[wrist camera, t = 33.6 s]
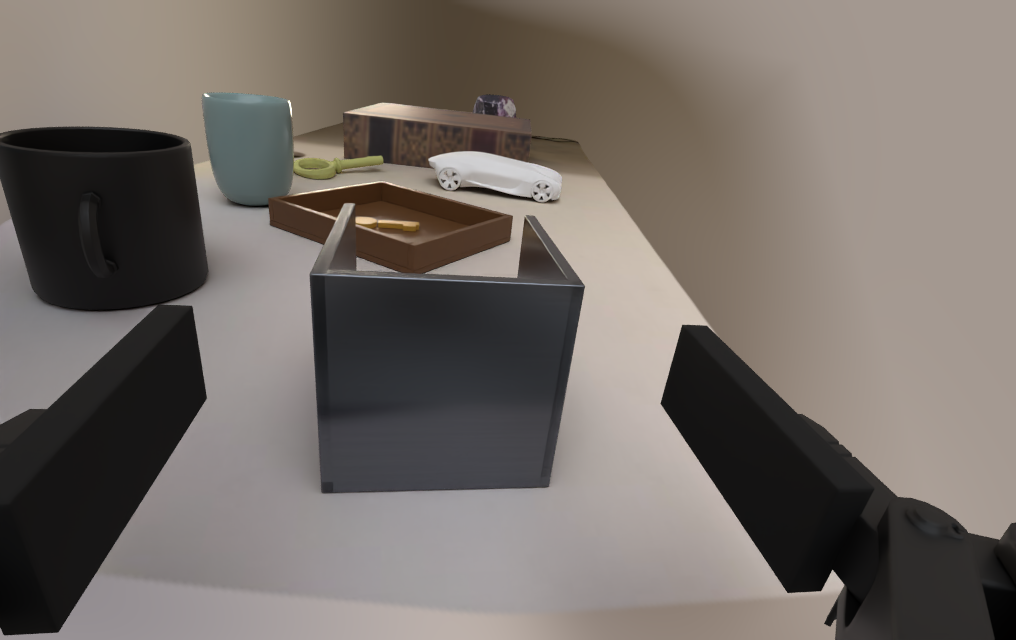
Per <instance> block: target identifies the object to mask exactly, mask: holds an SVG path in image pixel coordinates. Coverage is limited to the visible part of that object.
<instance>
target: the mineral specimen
mask: <svg viewBox="0 0 1016 640" xmlns="http://www.w3.org/2000/svg"><path fill="white" fill-rule="evenodd" d="M515 112H516V109H515V106H514V101H513V100H512V99H511V98H509V97H505V96H499V95H482V96H479V97H478V98H477V101H476V104H475V107H474V110H473V113H478V114H486V115H495V116H504V117H512V118H516V113H515Z"/></svg>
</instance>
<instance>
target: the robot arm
mask: <svg viewBox="0 0 1016 640" xmlns="http://www.w3.org/2000/svg"><path fill="white" fill-rule="evenodd" d="M206 399H207V396H206V389H205V383H204V377H203V371H202V364H201V358H200V352H199V345H198V339H197V333H196V326H195V320H194V314H193V307H192V306H181V305H158V306H157V307H156V308H154V309H153V310H152V311H151V312H150V313H149V314H148V315H147V316H146V317H145V318H144V319H143V320H142V321H141V322H140V323H139V324H137V325H136V326H135V327H134V328H133V329H132V330H131V331H130V332H129V333H128V334H127V335H126V336H125V337H124V338H123V339H121V340H120V341H119V342H118V343H117V344H116V345H115V346H114V347H113V348H112V349H111V350H110V351H109V352H108V353H107V354H105V355H104V356H103V357H102V358H101V359H100V360H99V361H98V362H97V363H96V364H95V365H94V366H93V367H92V368H91V369H90V370H88V371H87V372H86V373H85V374H84V375H83V376H82V377H81V378H80V379H79V380H78V381H77V382H76V383H75V384H74V385H72V386H71V387H70V388H69V389H68V390H67V391H66V392H65V393H64V394H63V395H62V396H61V397H60V398H59V399H58V400H57V401H55V402H54V403H53V404H52V405H51V406H50V407H49V408H48V409H29V410H27V411H25V412H24V413H22V414H20V415H18V416H16V417H14V418H12V419H10V420H8V421H6V422H5V423H3V424H1V425H0V628H1V629H2V632H3V634H4V635H19V634H38V633H57V632H59V630H60V629H61V627H62V625H63V624H64V622H65V621H66V619H67V618H68V616H69V615H70V613H71V611H72V610H73V608H74V607H75V605H76V604H77V602H78V600H79V599H80V597H81V596H82V594H83V593H84V591H85V589H86V588H87V586H88V585H89V583H90V582H91V580H92V578H93V577H94V575H95V574H96V572H97V571H98V569H99V567H100V566H101V564H102V563H103V561H104V560H105V558H106V556H107V555H108V553H109V552H110V550H111V549H112V547H113V545H114V544H115V542H116V541H117V539H118V538H119V536H120V534H121V533H122V531H123V530H124V528H125V527H126V525H127V523H128V522H129V520H130V519H131V517H132V516H133V514H134V512H135V511H136V509H137V508H138V506H139V504H140V503H141V501H142V500H143V498H144V497H145V495H146V493H147V492H148V490H149V489H150V487H151V486H152V484H153V482H154V481H155V479H156V478H157V476H158V475H159V473H160V471H161V470H162V468H163V467H164V465H165V464H166V462H167V460H168V459H169V457H170V456H171V454H172V453H173V451H174V449H175V448H176V446H177V445H178V443H179V442H180V440H181V438H182V437H183V435H184V434H185V432H186V430H187V429H188V427H189V426H190V424H191V423H192V421H193V419H194V418H195V416H196V415H197V413H198V412H199V410H200V408H201V407H202V405H203V404H204V402H205V401H206ZM661 405H662V407H663V408H664V410H665V411H666V412H667V414H668V415H669V417H670V418H671V420H672V421H673V423H674V424H675V426H676V427H677V429H678V430H679V432H680V433H681V435H682V436H683V438H684V439H685V441H686V442H687V444H688V445H689V447H690V448H691V450H692V451H693V453H694V454H695V456H696V457H697V459H698V460H699V462H700V463H701V465H702V466H703V468H704V469H705V471H706V472H707V474H708V475H709V477H710V478H711V480H712V481H713V482H714V484H715V485H716V487H717V488H718V490H719V491H720V493H721V494H722V496H723V497H724V499H725V500H726V502H727V503H728V505H729V506H730V508H731V509H732V511H733V512H734V514H735V515H736V517H737V518H738V520H739V521H740V523H741V524H742V526H743V527H744V529H745V530H746V532H747V533H748V535H749V536H750V538H751V539H752V541H753V542H754V544H755V545H756V547H757V548H758V550H759V551H760V552H761V554H762V555H763V557H764V558H765V560H766V561H767V563H768V564H769V566H770V567H771V569H772V570H773V572H774V573H775V575H776V576H777V578H778V579H779V581H780V582H781V584H782V585H783V587H784V588H785V590H786V591H787V593H795V592H814V591H821V590H822V588H823V587H824V585H825V583H826V581H827V579H828V577H829V575H830V573H831V571H832V569H833V570H834V572H835V573H836V574H837V576H838V577H839V578H840V579H841V581H842V582H843V583H844V584H845V585H844V587H843V589H842V591H841V593H840V594H839V596H838V598H837V600H836V602H835V604H834V606H833V607H832V609H831V611H830V613H829V615H828V616H827V619H826V621H825V623H824V624H826V625H828V626H831V625H832V623H833V621H834V620H835V619H837V621H836V636H835V640H1016V523H1012V524H1011V525H1010V526H1009V527H1008V529H1007V530H1006V532H1005V533H1004V535H1003V536H1002V538H1001V539H1000V540H998V539H993V538H989V537H984V536H979V535H975V534H971V533H968V532H967V530H966V529H965V528H964V527H963V526H962V525H961V524H960V523H959V522H958V521H957V520H956V519H954V518H953V517H951V516H950V515H948V514H947V513H945V512H944V511H942V510H941V509H939V508H936V507H935V506H932V505H930V504H928V503H926V502H923V501H919V500H916V499H913V498H903V497H897V496H896V495H895V494H894V493H893V492H892V491H891V490H890V489H889V488H887V486H886V485H884V484H883V483H882V482H881V481H880V480H879V479H878V478H877V477H876V476H875V475H874V474H873V473H872V472H871V471H870V470H868V469H867V468H866V467H865V466H864V465H863V464H862V463H861V462H860V461H859V460H858V459H857V458H856V457H852V454H851V453H850V452H849V451H848V450H847V449H846V448H845V447H844V446H843V445H839V441H838V440H837V439H835V438H834V437H833V436H832V435H831V434H830V433H829V432H828V431H827V430H826V429H825V428H824V427H822V426H821V425H819V424H817V423H816V422H814V421H813V420H811V419H809V418H808V417H806V416H804V415H803V414H797V413H796V412H795V411H794V410H793V409H792V408H791V407H790V406H789V405H788V404H787V403H786V402H785V401H784V400H783V399H782V398H781V397H780V396H779V395H778V394H777V393H776V392H775V391H774V390H773V389H771V388H770V387H769V386H768V385H767V384H766V383H765V382H764V381H763V380H762V379H761V378H760V377H759V376H758V375H757V374H756V373H755V372H754V371H753V370H752V369H751V368H750V367H749V366H748V365H747V364H745V362H744V361H743V360H741V358H739V357H738V356H737V355H736V354H735V353H734V352H733V351H732V350H731V349H730V348H729V347H728V346H727V345H726V344H725V343H724V342H723V341H722V340H721V339H720V338H719V337H718V336H717V335H716V334H715V333H714V332H713V331H712V330H711V329H710V328H708V327H707V326H700V325H682V328H681V332H680V335H679V339H678V342H677V346H676V350H675V353H674V357H673V361H672V364H671V368H670V371H669V375H668V379H667V382H666V386H665V390H664V393H663V397H662V400H661Z"/></svg>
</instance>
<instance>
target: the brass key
mask: <svg viewBox="0 0 1016 640" xmlns="http://www.w3.org/2000/svg"><path fill="white" fill-rule="evenodd" d="M356 224H357V225H361V226H364V227H367V228H370V229H372V228H375V227H377V220H376V219H373V218H369V217H356ZM378 228H394V229H403V231H413V232H415V231H416V230H419V222H406V221H390V220H378Z"/></svg>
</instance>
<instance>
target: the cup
mask: <svg viewBox="0 0 1016 640" xmlns="http://www.w3.org/2000/svg"><path fill="white" fill-rule="evenodd" d="M202 108H203V117H204V125H205V133H206V140H207V146H208V153H209V158H210V163H211V167H212V171H213V175H214V178H215V180H216V183H217V185H218V187H219V189H220V190H221V192H222V193H223V195H224V196H226V197H227V198H228V199H229V200H231V201H233V202H235V203H238V204H243V205H252V206H263V205H269V203H268V198H272V197H279V196H285V195H288V193H289V191H290V189H291V185H292V180H293V171H294V144H293V128H292V112H291V105H290V102H289V100H287V99H283V98H278V97H271V96H263V95H252V94H239V93H205V94H203V95H202Z"/></svg>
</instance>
